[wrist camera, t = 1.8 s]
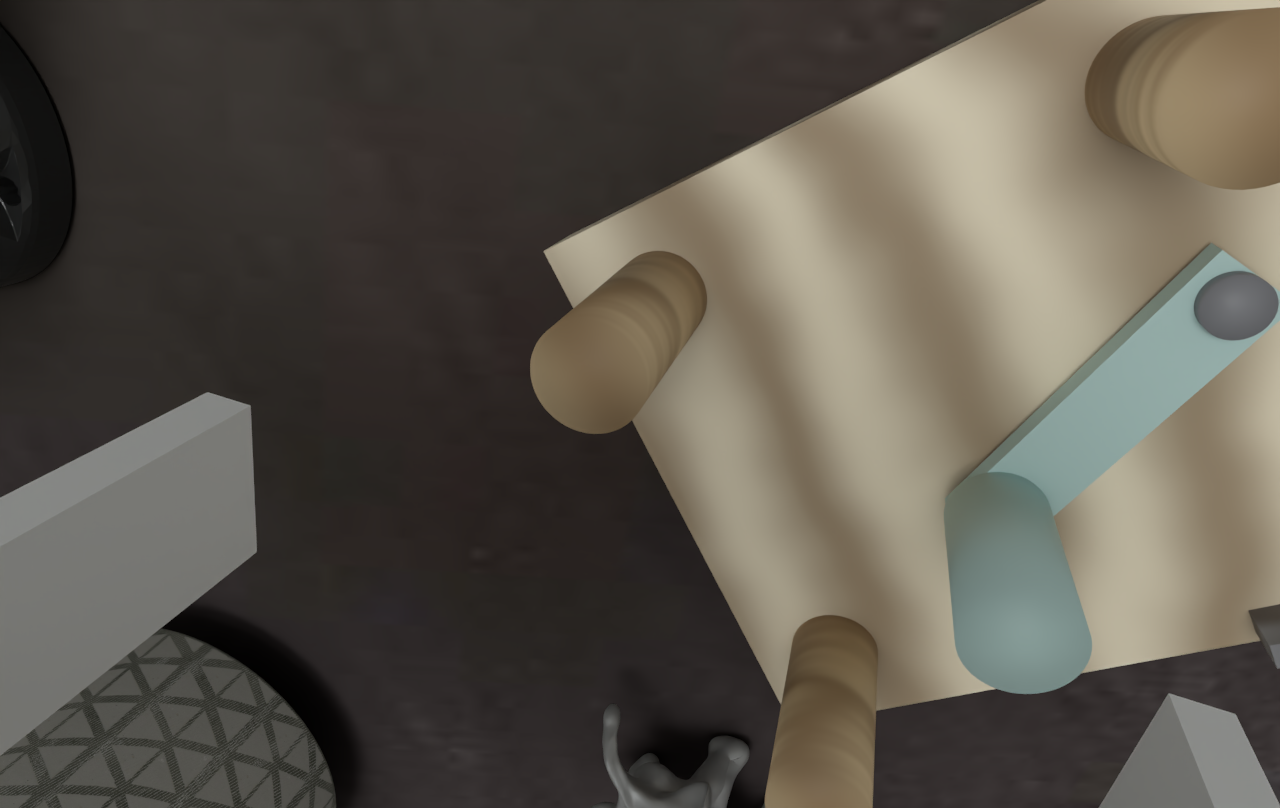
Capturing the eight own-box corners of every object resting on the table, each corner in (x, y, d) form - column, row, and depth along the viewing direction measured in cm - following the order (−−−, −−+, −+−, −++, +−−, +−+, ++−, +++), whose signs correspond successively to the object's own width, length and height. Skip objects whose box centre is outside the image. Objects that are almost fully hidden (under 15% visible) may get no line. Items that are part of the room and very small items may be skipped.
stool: (799, 681, 41) (765, 893, 31) (570, 234, 35) (436, 316, 25) (1422, 553, 31) (1676, 807, 21) (1245, -104, 25) (1478, -196, 15)
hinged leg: (998, 560, 32) (1026, 714, 25) (921, 506, 32) (928, 643, 25) (1294, 302, 26) (1446, 406, 19) (1201, 235, 26) (1316, 312, 19)
